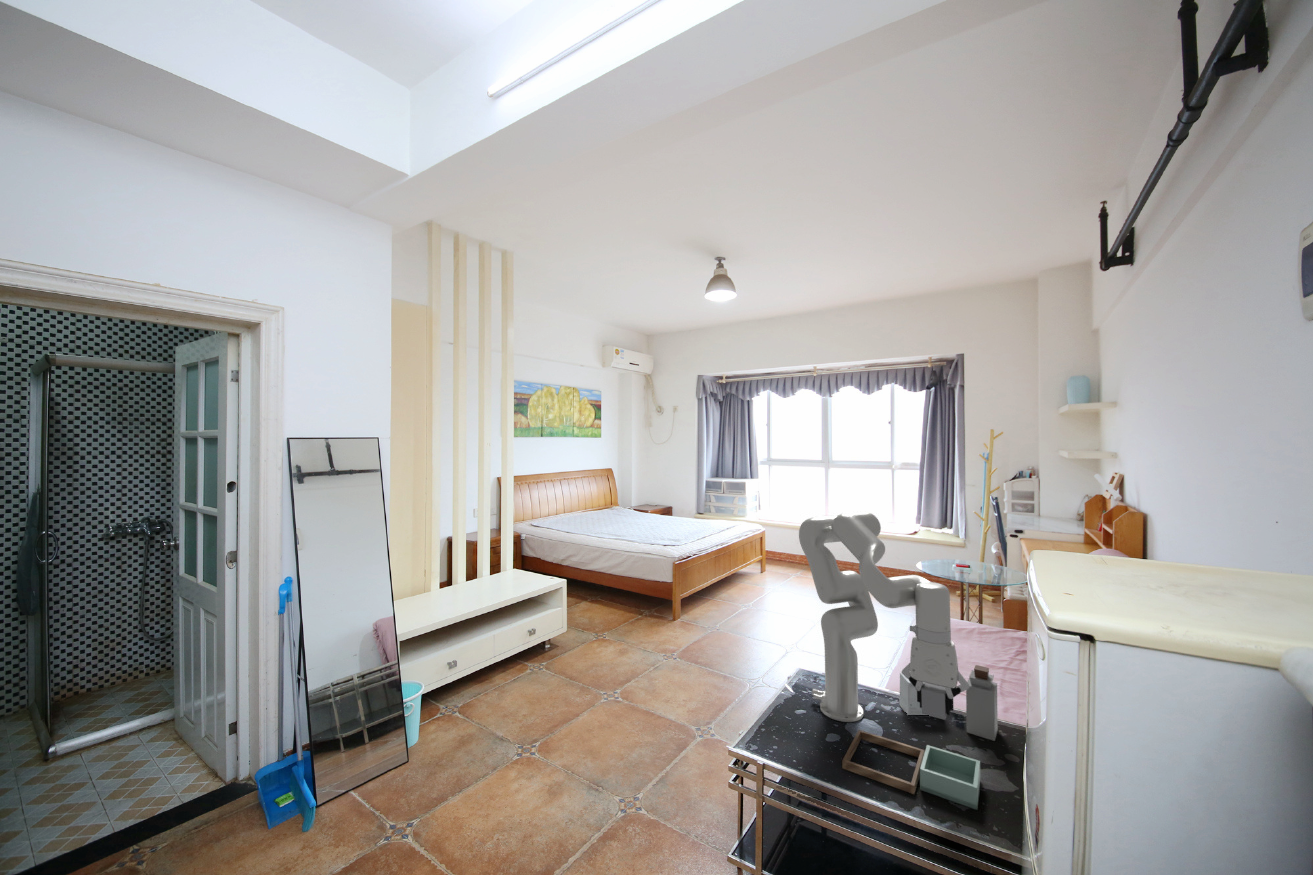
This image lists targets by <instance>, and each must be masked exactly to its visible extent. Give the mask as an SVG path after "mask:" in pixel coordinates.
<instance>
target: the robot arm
mask: <svg viewBox="0 0 1313 875" xmlns="http://www.w3.org/2000/svg"><path fill="white" fill-rule="evenodd" d="M881 529H882V527H881V522H880V520H879V518H878V517H877V516H876V515H874V514H873V513H871V512H869V511H857V512H854V511H853V512H845V513H840V514H838V515H823V516H815V517H810V518H808V519H805V520H804V521H802V522H801V524H800V526H799V529H798V540H799V543H800V546H801V548H802V549H801V550H802V551H803V553H804V555H805V557H806V560H807V562H808V566H809V569H810V572H811V576H812V579H813V583H814V586H815V590H816V594H817V596H818V598H819V600H820V601H821V603H823V604H827V605H834V604H842V603H847V604H848V606H842V607H835V608H832V609H829V610H827V611H825V612H824V613H823V614H822V616H821V619H820V626H821V631H822V637H823V644H824V690H819V689H818V688H817V689H816V688H812V690H811V694H812V696H813V700H817V701H820V704H819V707H820V711H821V712H822V714H824V715H825V716H826V717H827V718H830V719H832V720H835V721H839V722H842V723H853V722H858V721H860V720H861V719H862V718H863V717H864V708H863V707H862V706H861V705H860V704H859V680H858V679H859V674H858V672H859V669H858V666H859V665H858V653H857V651H856V649H855V648H854V646H853V645H852V641H853V640H857V639H861V638H862V639H863V638H868V637H871V636H873V635H874V634H876V633H877V631H878V628H879V622H878V621H879V620H878V617H877V614H876V613H877V612H876V610H875V607H874V603H873V601H872V598H871V596H872V597H873V598H874V599H875V600H876V601H877V602H878V604H880V605H882V606H883V607H886V608H888V609H899V608H904V607H911V606H915V625H909V631H910V632H912V633H914V634H915V635H914V636H913V637H912V640H911V643H910V644H911V645H910V660H909V663H908V664H907V665H905V667H904V668H902V670H901V673H902V674H903V675H904V676H905V677H906V678H908V679H909V681H910V682H911V683H912V685H913V686H914V687H915V689H916V690H917V702H920V708H922V694H921V689H922V686H923V682H925V683H930V684H934V685H938V686H942V687H945V690H946V693H947V695H946V699H945V701H946V714H947V716H949V715H950V714H951V712H953V711H954V698H955V697H957V696H958V695H959V694H961V693H963V692H966V690H967V689H969V684H968V680H966V678H965V677H964V676H963V674H961V672H960V671H959V663H958V656H957V651H956V646H955V643H954V641H952V636H951V635H952V633H951V628H952V627H951V597H950V596H951V595H950V590H949V587H947V586H946V585H944V584H941V583H938V582H934V581H933V582H932V581H931V580H928V579H926V578H925V577H923V576H920V575H918V574H906V575H899V576H893V577H891V576H890V577H887V576H886V575H885V574H884V573H883V572H882V571H881V570H880V569H879V567H878V566H877V565H876V564H877V563H878V562H879V561H881V560H882V558H883V557H884V555H885V552H886V545H885V543H884V542H883V541H882V540H881V539H880V538H879V537H878V536H879V535H880V533H881V532H882V531H881ZM838 542H840V543H842V544H843V546H845V548H846V549H847V550H848V551H849V552H850V553H851V554H852V556H854V557H855V559H856V560H857V561H858V563H859V564H858V572H859V573H858V572H856V571H854V570H840V568H839V566H838V563H837V559H836V557H835V555H834V554H833V552H832V551H831V550H830V549H829V548H828V547H827V546H826V545H825V544H826V543H827V544H830V543H831V544H832V543H838ZM958 682H959V685H958Z"/></svg>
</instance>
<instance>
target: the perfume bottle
mask: <svg viewBox="0 0 1313 875" xmlns="http://www.w3.org/2000/svg"><path fill="white" fill-rule="evenodd" d="M989 672H990V667H986V666H982V665H978V664H975V665H974V669H973V670H971V672H970V674H969V676H968V680H967V682H968V684H969V689H967V690H965V694H966V696H965V697H966V698H965V700H966V704H965V706H966V707H965V708H966V709H965V710H966V711H965V712H966V713H965V714H966V718H965V719H966V722H965V723H966V733H968V734H970V735H971V734H972V735H974V736H978V737H981V738H984V739H987V740H991V741H994V742H995V741H996V738H997V734H998V730H999V729H998V728H999V727H998V725H999V724H998V721H999V720H998V683H997V682H995V681H994V675H993V674H989Z"/></svg>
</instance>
